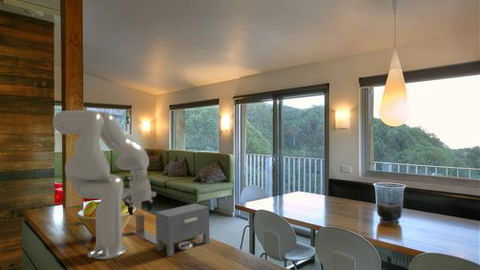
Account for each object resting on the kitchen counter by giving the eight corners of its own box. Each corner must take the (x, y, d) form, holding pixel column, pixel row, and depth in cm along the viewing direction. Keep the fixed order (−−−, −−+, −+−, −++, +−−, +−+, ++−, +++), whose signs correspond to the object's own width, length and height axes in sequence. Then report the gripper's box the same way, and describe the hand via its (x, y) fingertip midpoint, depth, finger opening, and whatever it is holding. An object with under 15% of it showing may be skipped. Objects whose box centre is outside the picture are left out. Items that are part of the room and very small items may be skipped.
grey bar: (154, 244, 130) (154, 224, 130) (131, 232, 147) (131, 214, 147) (165, 241, 134) (164, 222, 134) (141, 230, 150) (140, 212, 150)
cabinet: (170, 256, 116) (169, 217, 116) (156, 249, 124) (155, 212, 124) (210, 242, 131) (210, 207, 130) (195, 237, 138) (195, 203, 138)
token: (189, 250, 123) (189, 247, 123) (176, 249, 124) (175, 246, 124) (195, 245, 129) (195, 242, 129) (182, 244, 130) (182, 240, 130)
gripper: (124, 181, 137) (126, 218, 137) (159, 176, 149) (160, 210, 150) (118, 179, 142) (119, 215, 143) (151, 174, 154) (152, 207, 155)
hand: (140, 212), depth 146 cm, fingers open, 9 cm apart
